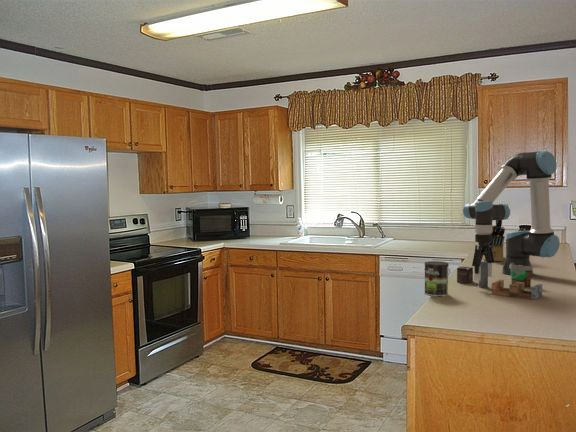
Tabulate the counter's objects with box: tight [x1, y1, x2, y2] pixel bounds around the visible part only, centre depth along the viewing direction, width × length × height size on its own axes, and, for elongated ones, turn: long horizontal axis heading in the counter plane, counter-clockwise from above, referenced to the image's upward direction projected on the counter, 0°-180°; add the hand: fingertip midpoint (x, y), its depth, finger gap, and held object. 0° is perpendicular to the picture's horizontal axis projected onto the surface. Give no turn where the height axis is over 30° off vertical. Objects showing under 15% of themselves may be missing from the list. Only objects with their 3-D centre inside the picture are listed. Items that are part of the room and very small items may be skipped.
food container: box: [509, 263, 534, 288], centre depth 249 cm, size 12×6×10 cm, turn 21°
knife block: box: [482, 220, 506, 262], centre depth 332 cm, size 11×35×31 cm, turn 167°
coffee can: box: [424, 260, 450, 297], centre depth 232 cm, size 10×10×14 cm
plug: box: [478, 260, 489, 289], centre depth 246 cm, size 4×4×12 cm
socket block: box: [491, 279, 543, 300], centre depth 228 cm, size 10×18×5 cm, turn 48°
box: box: [456, 266, 474, 285], centre depth 259 cm, size 6×6×7 cm
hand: (483, 278), depth 246 cm, fingers open, 13 cm apart
